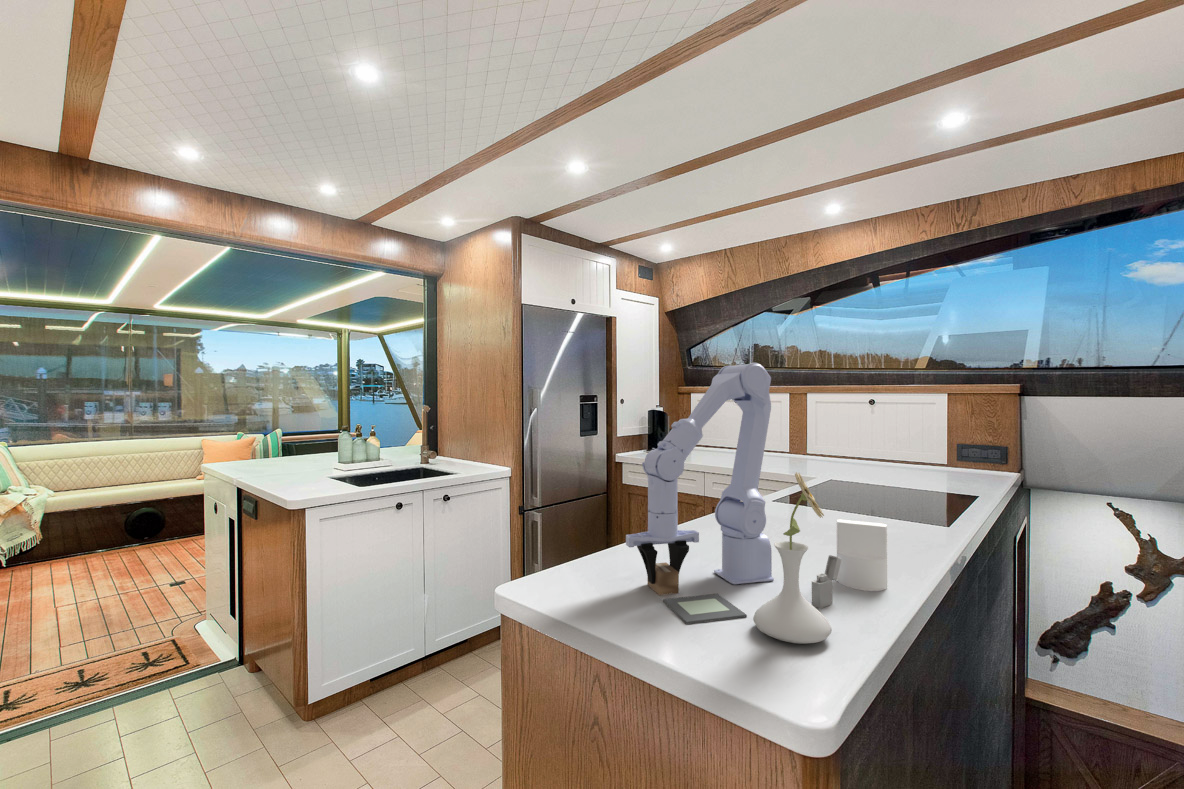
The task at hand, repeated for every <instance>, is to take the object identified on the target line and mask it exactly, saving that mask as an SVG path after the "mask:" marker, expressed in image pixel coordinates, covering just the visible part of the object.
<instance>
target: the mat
mask: <svg viewBox="0 0 1184 789" xmlns="http://www.w3.org/2000/svg"><path fill="white" fill-rule="evenodd" d="M662 602H663V603H664V604H665V605H666V606H667V608H670V610H672V612H673V613H674V614H676V616H678V617H679V619H681V621H683V622H684V623H685V624H686V625H690V624H691V625H692V624H699V623H709V622H710V623H711V622H718V621H724V620H734V619H742V618H747V617H748V615H747V614H746V613H745V612H744V611H742V610H741V609H739V608H738V607H737V606H736V605H734V604H733V603H732V602H730V601H728V600H727V599H726V598H725V597H723V596H722V595H720V594H719V593H710V594H708V593H707V594H700V595H689V596H680V597H669V598H668V597H667V598H663V599H662Z"/></svg>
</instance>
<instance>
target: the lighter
mask: <svg viewBox="0 0 1184 789" xmlns="http://www.w3.org/2000/svg"><path fill="white" fill-rule="evenodd" d="M840 564H841V559H840V558H838V557H837V556H835V555H831V554H829V555H828V558H827V562H826V566H825V571H824V573H819V574H816V579H813V580H811V605H812V606H814V607H815V608H816V609H817V608H818V609H820V610H821V609H823V608H825V607H828V606H830V605H833V597H834V596H833V582H838V581H837V577H838V572H839V568H840Z"/></svg>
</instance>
